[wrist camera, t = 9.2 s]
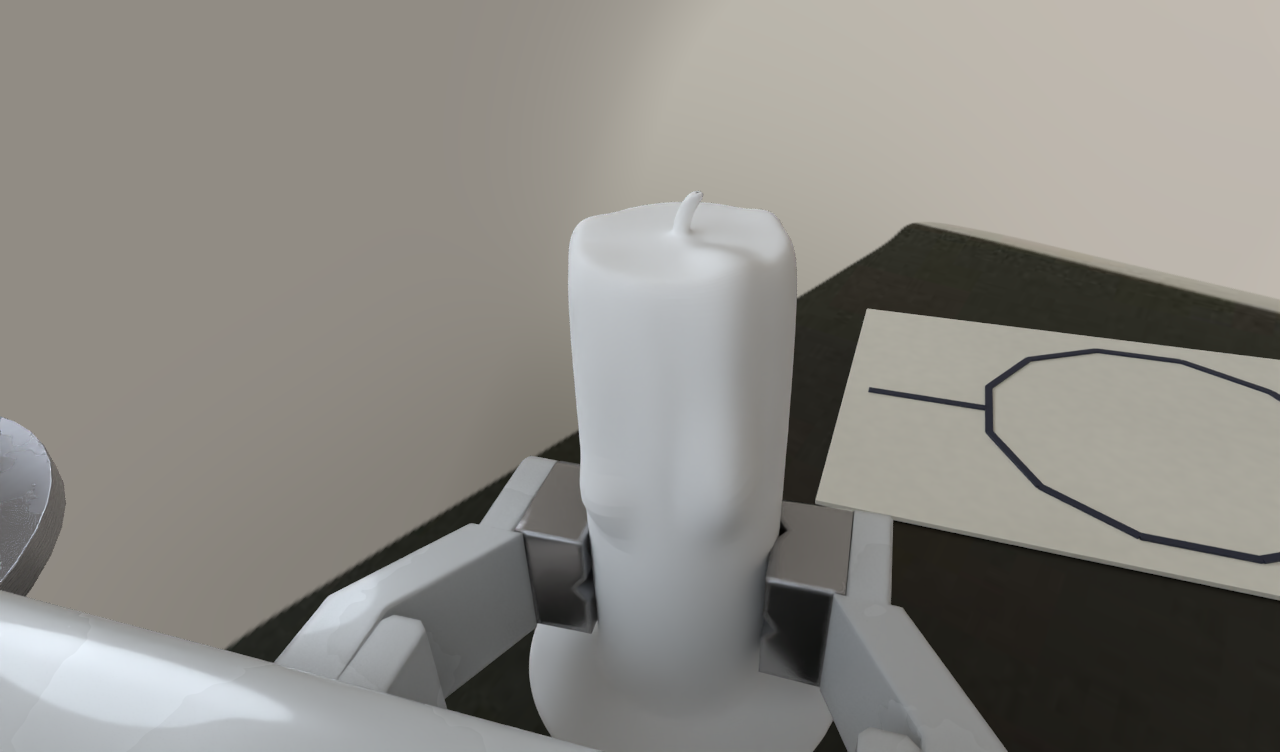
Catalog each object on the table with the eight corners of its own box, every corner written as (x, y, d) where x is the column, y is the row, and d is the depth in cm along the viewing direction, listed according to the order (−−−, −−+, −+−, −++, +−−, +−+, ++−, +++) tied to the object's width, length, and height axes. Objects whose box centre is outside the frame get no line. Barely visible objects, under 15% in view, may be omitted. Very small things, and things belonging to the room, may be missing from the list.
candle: (896, 897, 13) (1101, 221, 6) (598, 1056, 11) (473, 366, 5) (742, 653, 17) (773, 96, 11) (509, 743, 15) (380, 151, 9)
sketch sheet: (815, 503, 29) (815, 498, 28) (866, 311, 41) (867, 306, 41) (1510, 648, 22) (1515, 642, 22) (1320, 368, 35) (1323, 363, 34)
